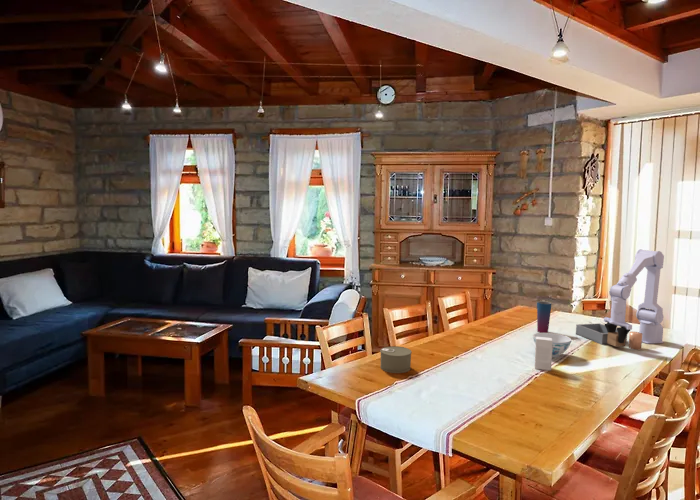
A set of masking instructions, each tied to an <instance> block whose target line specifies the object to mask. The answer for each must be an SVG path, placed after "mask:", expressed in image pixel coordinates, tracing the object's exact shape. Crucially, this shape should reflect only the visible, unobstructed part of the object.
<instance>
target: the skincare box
mask: <svg viewBox="0 0 700 500" xmlns="http://www.w3.org/2000/svg"><path fill="white" fill-rule="evenodd" d="M552 342H553V341H552V338H546V337H536V343H535V342H534V344H535V347H534V350H535V351H534V369H536V370H541V371H542V370H543V371H551V370H552V358H553V357H552Z"/></svg>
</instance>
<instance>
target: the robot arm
mask: <svg viewBox="0 0 700 500" xmlns="http://www.w3.org/2000/svg"><path fill="white" fill-rule="evenodd" d="M664 259H665V255H664V254H663V252H662V251H660V250H658V251H657V250H650V249H649V250H647V249H638V250H637V251H636V253H635V254H634V262H633V264H632V265H631V268H630V269H629V271H628V272H624V273H623V275H622V276H621V277H620V278H619V280H618V282H617V283H616V284H613V285H612V286H610V289H609V290H608V291H609V296H610V301H611V309H610V317H605V316H604V317H603V323H604V325H605V327H606V329H607V332H615V331H616V329H617V331H618V342H619V343H624V340H625V338H626V336H627V337H628V334H630V332H631V330H633V324H630V323H628V322H627V321H626V315H627V314H626V313H627V312H626V311H627V300H628V299H629V298H630V296H631V291H632V288H633V287H634V285H635V284H636V283H637V280H638V279H637V277H638V275H639V274H640V273H641V272H642V271H643V269H644V268H645V269H646V281H645V291H644V298H643V302H642V303H640V304H638V307H637V310H636V314H635V317H636V319H637V320H638V322H639V332H640V333H642V343H644V344H648V345H649V344H663V343H665V342H664V341H663V338H664V328H663V325H662V324H661V323H662V322H663V320H664V314H663V313H664V312H663V311H664V309H663V307H662V306H660V305H659V304H658V295H659V288H660V287H659V285H660V276H661V269H663V268H664V262H665V261H664Z"/></svg>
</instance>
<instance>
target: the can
mask: <svg viewBox="0 0 700 500" xmlns="http://www.w3.org/2000/svg"><path fill="white" fill-rule="evenodd" d="M379 351H380V370H382V371H384V372H387V373H391V374H402V373H403V374H405V373H407V372H410V371H411V363H412V350H411V349H409V348H407V347H404V346H396V345H394V346H393V345H391V346H385V347H384V346H383V347H382V348H381V349H380V350H379Z"/></svg>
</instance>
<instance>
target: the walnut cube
mask: <svg viewBox="0 0 700 500" xmlns="http://www.w3.org/2000/svg"><path fill="white" fill-rule="evenodd" d="M607 343H608V344H607V345H611V346H613V347H623V346H624V347H625V346H626V343H625V340H624V343H619V342H618V332H608V338H607Z"/></svg>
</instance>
